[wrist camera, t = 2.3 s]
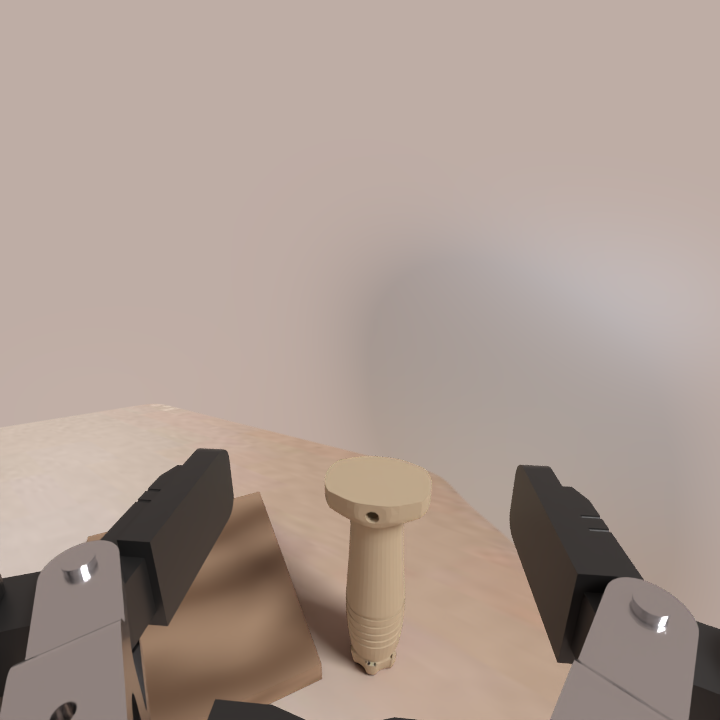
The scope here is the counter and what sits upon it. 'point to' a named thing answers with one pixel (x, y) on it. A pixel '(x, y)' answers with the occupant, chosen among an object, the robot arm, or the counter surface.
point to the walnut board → (231, 627)
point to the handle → (376, 547)
